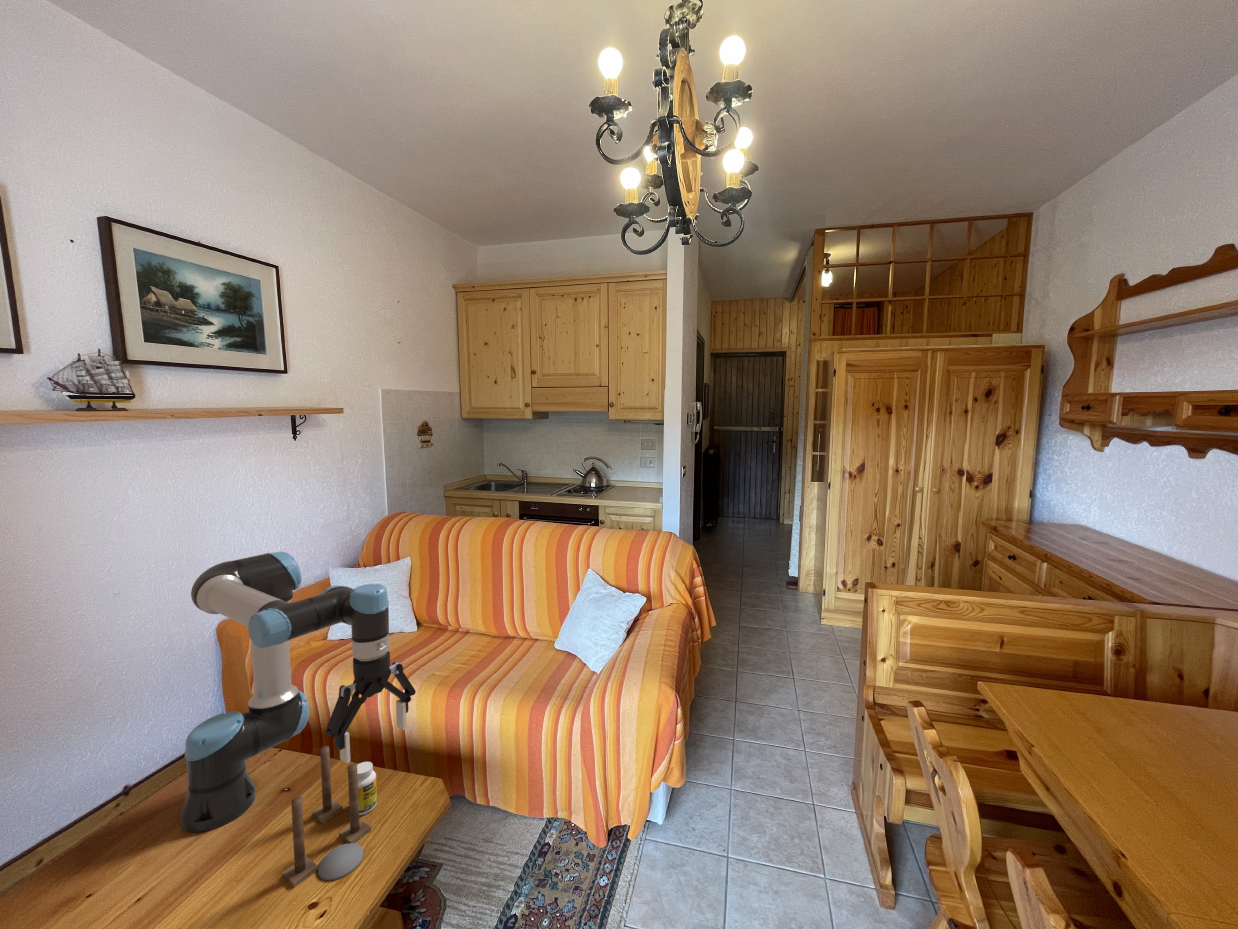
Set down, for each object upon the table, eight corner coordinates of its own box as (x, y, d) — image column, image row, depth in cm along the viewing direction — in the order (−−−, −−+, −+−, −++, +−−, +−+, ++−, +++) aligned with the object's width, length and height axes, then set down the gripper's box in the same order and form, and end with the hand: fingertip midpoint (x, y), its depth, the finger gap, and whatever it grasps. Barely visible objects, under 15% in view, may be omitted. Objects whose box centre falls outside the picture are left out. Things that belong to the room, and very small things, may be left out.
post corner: (339, 836, 118) (336, 768, 117) (359, 822, 123) (356, 756, 121) (351, 845, 116) (348, 776, 114) (370, 830, 120) (368, 763, 119)
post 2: (312, 815, 125) (309, 750, 124) (332, 802, 129) (329, 740, 128) (322, 823, 122) (319, 757, 121) (342, 810, 126) (339, 746, 125)
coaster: (310, 868, 110) (310, 865, 110) (349, 839, 117) (349, 837, 117) (331, 887, 105) (331, 885, 105) (371, 856, 113) (371, 854, 113)
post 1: (282, 877, 108) (278, 802, 106) (306, 859, 112) (303, 788, 111) (294, 888, 105) (290, 812, 104) (318, 870, 109) (314, 796, 108)
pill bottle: (366, 818, 124) (364, 777, 123) (345, 814, 125) (343, 774, 124) (382, 800, 130) (380, 761, 129) (362, 796, 131) (360, 758, 130)
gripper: (323, 683, 97) (327, 783, 99) (429, 637, 119) (431, 720, 120) (303, 673, 101) (308, 769, 103) (409, 630, 122) (412, 711, 124)
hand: (374, 743), depth 111 cm, fingers open, 13 cm apart
